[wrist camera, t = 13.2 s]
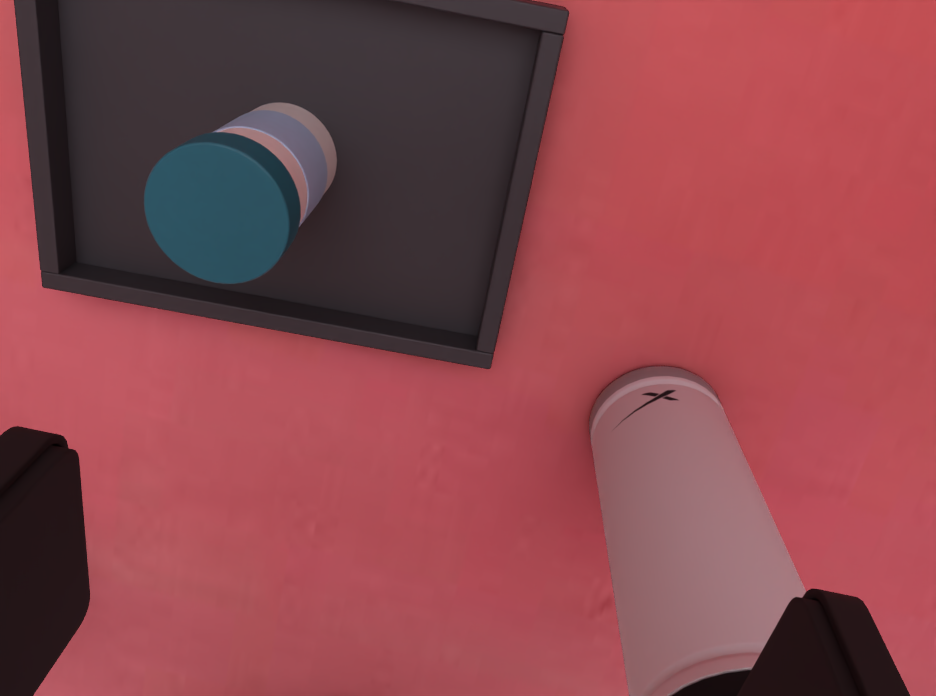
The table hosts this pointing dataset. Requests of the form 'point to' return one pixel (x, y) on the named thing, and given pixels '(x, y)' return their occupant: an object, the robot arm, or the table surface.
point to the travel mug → (685, 536)
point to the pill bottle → (240, 192)
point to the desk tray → (354, 136)
